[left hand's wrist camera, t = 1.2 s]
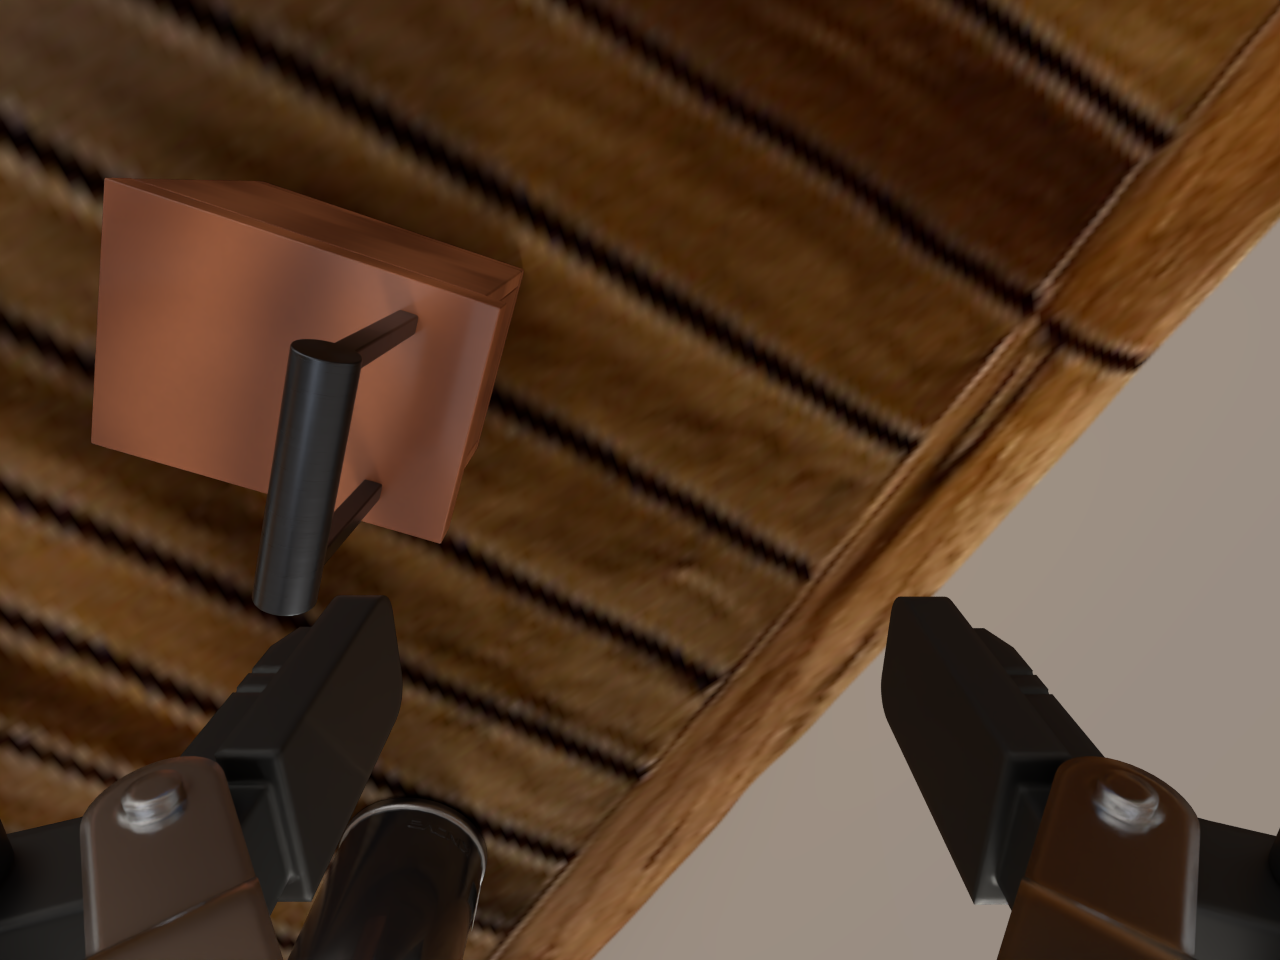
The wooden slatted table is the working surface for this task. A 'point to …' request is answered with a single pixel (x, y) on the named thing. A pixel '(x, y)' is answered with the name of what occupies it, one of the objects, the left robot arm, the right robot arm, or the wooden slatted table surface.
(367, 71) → the wooden slatted table surface
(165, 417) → the lid
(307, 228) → the chest
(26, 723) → the wooden slatted table surface
